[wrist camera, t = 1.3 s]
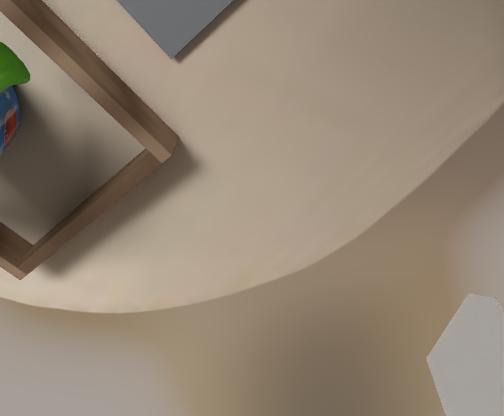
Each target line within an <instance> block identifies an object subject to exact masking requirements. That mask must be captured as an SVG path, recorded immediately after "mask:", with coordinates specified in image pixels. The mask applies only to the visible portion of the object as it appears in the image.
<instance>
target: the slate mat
mask: <svg viewBox="0 0 504 416" xmlns="http://www.w3.org/2000/svg"><path fill="white" fill-rule="evenodd" d="M117 1H118V2H119V3H120V4H121V5H122V6H123V7H124V8H125V9H126V10H127V12H128V13H129V14H130V15H131V16H132V17H133V18H134V19H135V20H136V21H137V22H138V23H139V25H140V26H141V27H142V28H143V29H144V30H145V31H146V32H147V33H148V34H149V35H150V36H151V38H152V39H153V40H154V41H155V42H156V43H157V44H158V45H159V46H160V47H161V48H162V49H163V51H164V52H165V53H166V54H167V55H168V56H169V57H170V58H171V59H172V58H173V57H174V56H175V55H176V54H177V53H178V52H179V51H180V50H181V49H182V48H183V47H185V46H186V45H187V44H188V43H189V42H190V41H191V40H192V39H193V38H194V37H195V36H196V35H197V34H198V33H199V32H200V31H201V30H202V29H204V28H205V27H206V26H207V25H208V24H209V23H210V22H211V21H212V20H213V19H214V18H215V17H216V16H217V15H218V14H219V13H220V12H222V11H223V10H224V9H225V8H226V7H227V6H228V5H229V4H230V3H231V2H232V1H233V0H117Z"/></svg>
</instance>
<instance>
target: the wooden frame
mask: <svg viewBox="0 0 504 416" xmlns="http://www.w3.org/2000/svg"><path fill="white" fill-rule="evenodd" d="M0 11H1V12H2V13H3V14H4V15H5V16H6V17H7V18H8V19H9V20H10V21H11V22H12V23H14V24H15V25H16V26H17V27H18V28H19V29H20V30H21V31H22V32H23V33H24V34H25V35H26V36H27V37H28V38H29V39H31V40H32V41H33V42H34V43H35V44H36V45H37V46H38V47H39V48H40V49H41V50H42V51H43V52H44V53H45V54H46V55H48V56H49V57H50V58H51V59H52V60H53V61H54V62H55V63H56V64H57V65H58V66H59V67H60V68H61V69H62V70H63V71H65V72H66V73H67V74H68V75H69V76H70V77H71V78H72V79H73V80H74V81H75V82H76V83H77V84H78V85H79V86H80V87H81V88H83V89H84V90H85V91H86V92H87V93H88V94H89V95H90V96H91V97H92V98H93V99H94V100H95V101H96V102H97V103H98V104H100V105H101V106H102V107H103V108H104V109H105V110H106V111H107V112H108V113H109V114H110V115H111V116H112V117H113V118H114V119H115V120H117V121H118V122H119V123H120V124H121V125H122V126H123V127H124V128H125V129H126V130H127V131H128V132H129V133H130V134H131V135H132V136H134V137H135V138H136V139H137V140H138V141H139V142H140V143H141V144H142V145H143V146H144V147H145V148H146V149H145V150H144V151H142V152H141V153H140V154H139V155H138V156H137V157H135V158H134V159H133V160H132V161H131V162H130V163H128V164H127V165H126V166H125V167H124V168H123V169H121V170H120V171H119V172H118V173H117V174H116V175H115V176H113V177H112V178H111V179H110V180H109V181H108V182H106V183H105V184H104V185H103V186H102V187H101V188H99V189H98V190H97V191H96V192H95V193H94V194H92V195H91V196H90V197H89V198H88V199H87V200H86V201H84V202H83V203H82V204H81V205H80V206H79V207H77V208H76V209H75V210H74V211H73V212H72V213H70V214H69V215H68V216H67V217H66V218H65V219H63V220H62V221H61V222H60V223H59V224H58V225H57V226H55V227H54V228H53V229H52V230H51V231H50V232H48V233H47V234H46V235H45V236H44V237H43V238H41V239H40V240H39V241H38V242H37V243H36V244H34V245H33V246H32V245H31V244H29V243H28V242H27V241H25V240H24V239H22V238H21V237H20V236H18V235H17V234H15V233H14V232H13V231H11V230H10V229H9V228H7V227H6V226H4V225H3V224H2V223H0V267H2V268H3V269H4V270H6V271H7V272H9V273H10V274H12V275H13V276H15V277H16V278H18V279H19V280H21V279H23V278H24V277H25V276H26V275H27V274H29V273H30V272H31V271H32V270H34V269H35V268H36V267H37V266H38V265H40V264H41V263H42V262H43V261H44V260H46V259H47V258H48V257H49V256H50V255H52V254H53V253H54V252H55V251H57V250H58V249H59V248H60V247H61V246H63V245H64V244H65V243H66V242H67V241H69V240H70V239H71V238H72V237H73V236H75V235H76V234H77V233H78V232H80V231H81V230H82V229H83V228H84V227H86V226H87V225H88V224H89V223H90V222H92V221H93V220H94V219H95V218H97V217H98V216H99V215H100V214H101V213H103V212H104V211H105V210H106V209H107V208H109V207H110V206H111V205H112V204H113V203H115V202H116V201H117V200H118V199H120V198H121V197H122V196H123V195H124V194H126V193H127V192H128V191H129V190H130V189H132V188H133V187H134V186H135V185H136V184H138V183H139V182H140V181H141V180H143V179H144V178H145V177H146V176H147V175H149V174H150V173H151V172H152V171H153V170H155V169H156V168H157V167H158V166H160V165H161V164H162V163H163V162H164V161H166V160H167V159H168V158H169V157H170V156H172V154H173V151H174V149H175V146H176V144H177V141H178V139H179V137H178V136H177V135H176V134H175V133H174V132H173V131H172V130H171V129H170V128H169V127H168V126H167V125H166V124H165V123H164V122H163V121H162V120H161V119H160V118H159V117H158V116H157V115H156V114H155V113H154V112H153V111H152V110H151V109H150V108H149V107H148V106H147V105H146V104H145V103H144V102H143V101H142V100H141V99H140V98H139V97H138V96H137V95H136V94H135V93H134V92H133V91H132V90H131V89H130V88H129V87H128V86H127V85H126V84H125V83H124V82H123V81H122V80H121V79H120V78H119V77H118V76H117V75H116V74H115V73H114V72H113V71H112V70H111V69H110V68H109V67H108V66H107V65H106V64H105V63H104V62H103V61H102V60H101V59H100V58H99V57H98V56H97V55H96V54H95V53H94V52H93V51H92V50H91V49H90V48H89V47H88V46H87V45H86V44H85V43H84V42H83V41H82V40H81V39H80V38H79V37H78V36H77V35H76V34H75V33H74V32H73V31H72V30H71V29H70V28H69V27H68V26H67V25H66V24H65V23H64V22H63V21H62V20H61V19H60V18H59V17H58V16H57V15H56V14H55V13H54V12H53V11H52V10H51V9H50V8H49V7H48V6H47V5H46V4H45V3H44V2H43V1H41V0H0Z"/></svg>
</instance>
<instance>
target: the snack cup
mask: <svg viewBox="0 0 504 416" xmlns="http://www.w3.org/2000/svg"><path fill="white" fill-rule="evenodd" d="M29 80H30V73H29V72H28V70H27V68H26V66H25V65H24V63H23V62H22V61H21V60H20V59H19V58H18V57H17V55H16V54H15V53H14V52H13V51H12V50H11V49H10V48H9V47H7V46H6V45H5V44H4V43H2V42H0V156H1V154H2V153H3V151H4V149H5V148H6V147H7V145H8V144H9V142H10V141H11V139H12V138H13V137H14V136H15V134H16V131H17V129H18V127H19V125H20V120H21V114H20V107H19V102H18V99H17V96H16V93H15V91H14V89H13V87H12V85H16V84H23V83H27V82H28V81H29Z"/></svg>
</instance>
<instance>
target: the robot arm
mask: <svg viewBox="0 0 504 416" xmlns="http://www.w3.org/2000/svg"><path fill="white" fill-rule="evenodd" d="M426 360H427V363H428V366H429V369H430V371H431V374H432V377H433V380H434V383H435V386H436V389H437V392H438V395H439V398H440V401H441V404H442V407H443V410H444V412H445V415H446V416H504V311H503V309H502V307H501V306H500V304H499V302H498V301H497V299H496V298H494V297H488V296H482V295H476V294H470V293H468V295H467V296H466V298H465V299H464V301H463V302H462V304H461V305H460V307H459V309H458V310H457V312H456V313H455V315H454V316H453V318H452V319H451V321H450V322H449V324H448V326H447V327H446V329H445V330H444V332H443V333H442V335H441V336H440V338H439V339H438V341H437V343H436V344H435V346H434V347H433V349H432V350H431V352H430V354H429V355H428V357H427V358H426Z"/></svg>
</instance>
